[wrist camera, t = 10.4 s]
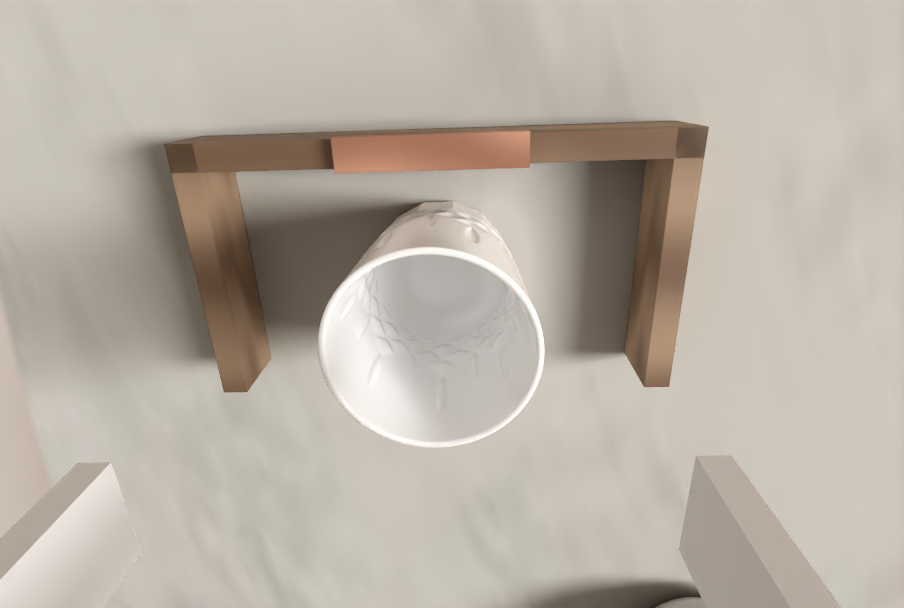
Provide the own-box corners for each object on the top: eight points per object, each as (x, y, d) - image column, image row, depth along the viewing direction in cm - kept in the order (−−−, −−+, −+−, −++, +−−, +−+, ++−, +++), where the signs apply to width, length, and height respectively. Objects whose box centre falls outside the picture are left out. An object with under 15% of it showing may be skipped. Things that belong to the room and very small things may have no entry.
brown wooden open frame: (646, 352, 29) (673, 393, 25) (250, 358, 30) (218, 398, 26) (677, 118, 24) (715, 125, 20) (202, 133, 25) (155, 143, 21)
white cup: (336, 257, 27) (270, 347, 18) (447, 154, 25) (436, 196, 16) (438, 356, 29) (425, 482, 20) (549, 269, 27) (590, 365, 18)
